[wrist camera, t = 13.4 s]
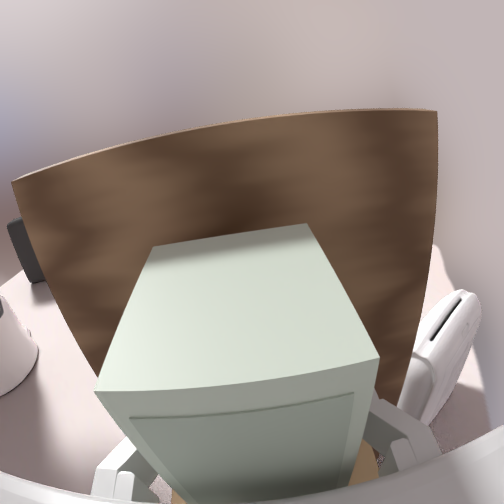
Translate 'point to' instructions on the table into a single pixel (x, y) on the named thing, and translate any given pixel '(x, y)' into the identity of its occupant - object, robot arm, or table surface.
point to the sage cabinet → (242, 368)
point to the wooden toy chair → (249, 217)
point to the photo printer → (439, 354)
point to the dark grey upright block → (25, 250)
